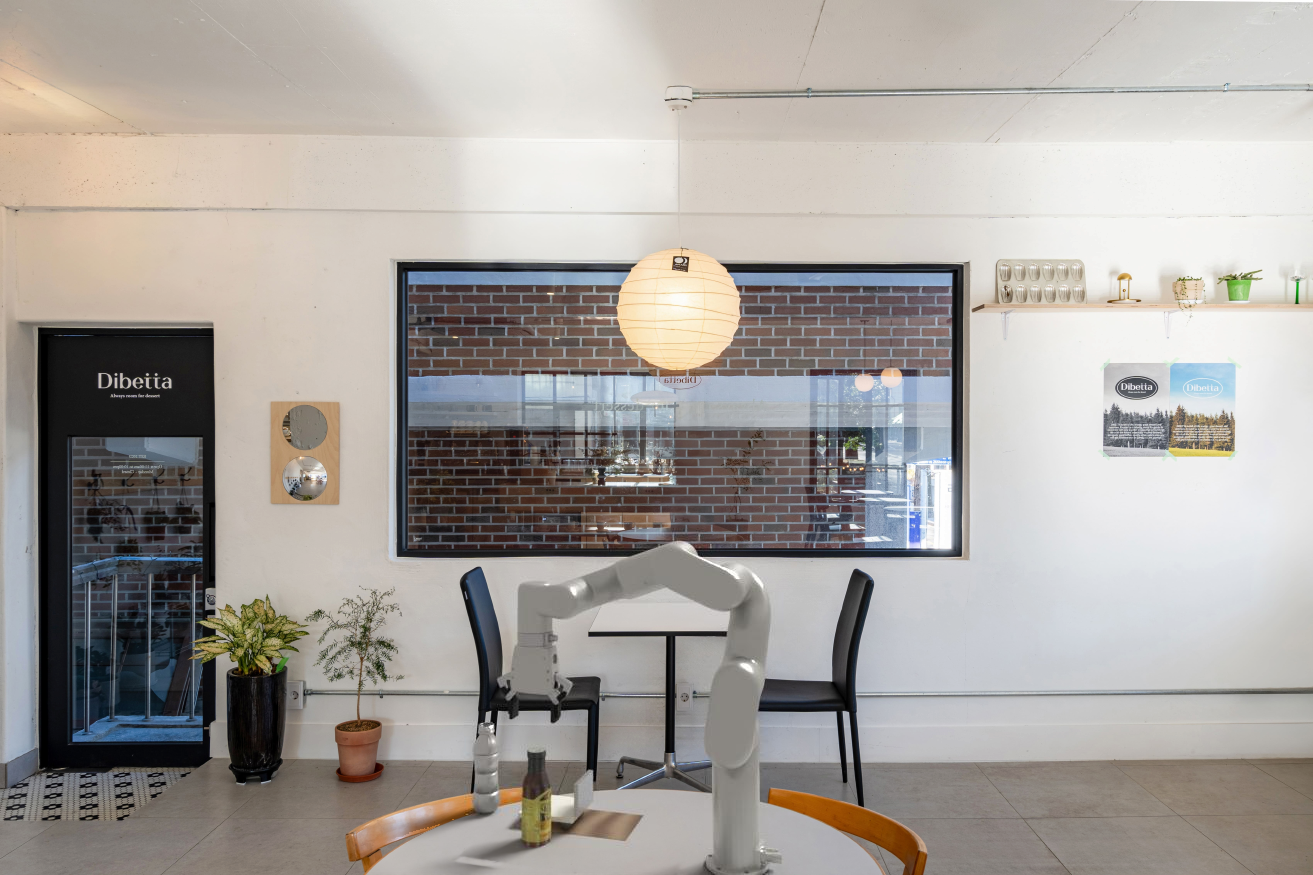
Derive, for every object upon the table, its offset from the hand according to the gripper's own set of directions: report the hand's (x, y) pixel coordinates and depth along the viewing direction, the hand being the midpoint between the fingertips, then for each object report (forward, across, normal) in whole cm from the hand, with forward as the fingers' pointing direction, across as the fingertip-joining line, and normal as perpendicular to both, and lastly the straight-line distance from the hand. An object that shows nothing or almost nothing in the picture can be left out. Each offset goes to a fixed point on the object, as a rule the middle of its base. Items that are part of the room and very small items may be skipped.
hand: (534, 719), depth 170 cm
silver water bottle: (+27, +18, -13) cm, 35 cm away
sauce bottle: (+26, -1, 0) cm, 27 cm away
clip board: (+26, -6, -11) cm, 29 cm away
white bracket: (+25, 0, -11) cm, 28 cm away
